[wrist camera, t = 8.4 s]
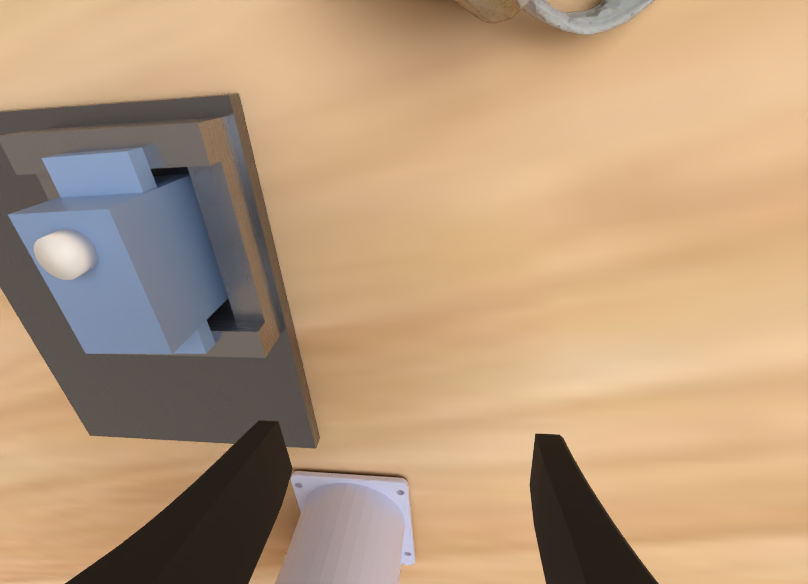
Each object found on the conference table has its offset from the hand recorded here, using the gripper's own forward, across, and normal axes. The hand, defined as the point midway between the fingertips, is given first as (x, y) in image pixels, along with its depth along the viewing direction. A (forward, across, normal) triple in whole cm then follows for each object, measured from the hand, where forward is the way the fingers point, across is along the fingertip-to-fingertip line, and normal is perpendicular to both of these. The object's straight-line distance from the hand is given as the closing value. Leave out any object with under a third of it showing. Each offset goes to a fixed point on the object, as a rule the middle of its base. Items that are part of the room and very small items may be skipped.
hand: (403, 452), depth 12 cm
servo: (+9, +12, -3) cm, 15 cm away
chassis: (+10, +16, +1) cm, 18 cm away
